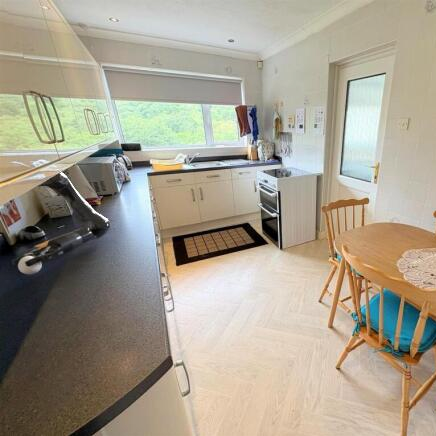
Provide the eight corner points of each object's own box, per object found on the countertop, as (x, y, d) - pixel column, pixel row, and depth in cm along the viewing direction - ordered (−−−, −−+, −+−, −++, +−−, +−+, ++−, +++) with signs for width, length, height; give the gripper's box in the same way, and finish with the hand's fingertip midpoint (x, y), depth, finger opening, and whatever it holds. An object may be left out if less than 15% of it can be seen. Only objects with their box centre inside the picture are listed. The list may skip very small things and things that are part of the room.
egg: (36, 277, 89) (27, 260, 86) (18, 278, 89) (9, 261, 86) (48, 268, 95) (41, 252, 92) (32, 269, 94) (24, 253, 91)
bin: (37, 252, 110) (34, 246, 109) (64, 241, 121) (61, 235, 120) (58, 254, 109) (55, 248, 107) (84, 242, 120) (81, 236, 118)
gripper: (49, 234, 102) (-1, 253, 87) (77, 236, 100) (31, 256, 85) (55, 249, 105) (8, 270, 90) (82, 251, 103) (39, 273, 88)
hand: (19, 263), depth 87 cm, fingers closed on egg, 5 cm apart
